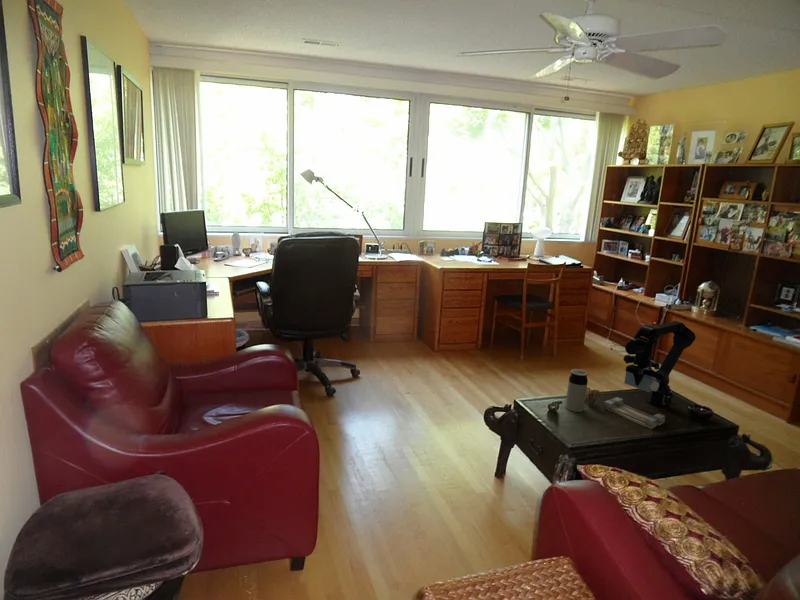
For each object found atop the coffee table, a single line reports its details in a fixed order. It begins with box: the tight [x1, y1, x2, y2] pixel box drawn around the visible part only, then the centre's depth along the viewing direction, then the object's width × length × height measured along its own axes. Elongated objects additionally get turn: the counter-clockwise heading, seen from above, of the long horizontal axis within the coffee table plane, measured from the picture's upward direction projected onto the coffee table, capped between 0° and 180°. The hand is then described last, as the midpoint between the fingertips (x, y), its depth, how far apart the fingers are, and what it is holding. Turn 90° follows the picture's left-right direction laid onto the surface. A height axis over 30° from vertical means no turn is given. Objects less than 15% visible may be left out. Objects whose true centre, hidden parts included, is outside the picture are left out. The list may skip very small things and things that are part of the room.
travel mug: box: [565, 368, 589, 413], centre depth 230 cm, size 8×8×18 cm
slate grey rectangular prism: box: [624, 371, 659, 393], centre depth 235 cm, size 4×14×6 cm, turn 34°
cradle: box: [602, 396, 666, 430], centre depth 228 cm, size 11×23×4 cm, turn 35°
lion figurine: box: [585, 386, 604, 408], centre depth 239 cm, size 15×5×9 cm, turn 10°
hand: (639, 384), depth 236 cm, fingers closed on slate grey rectangular prism, 4 cm apart
